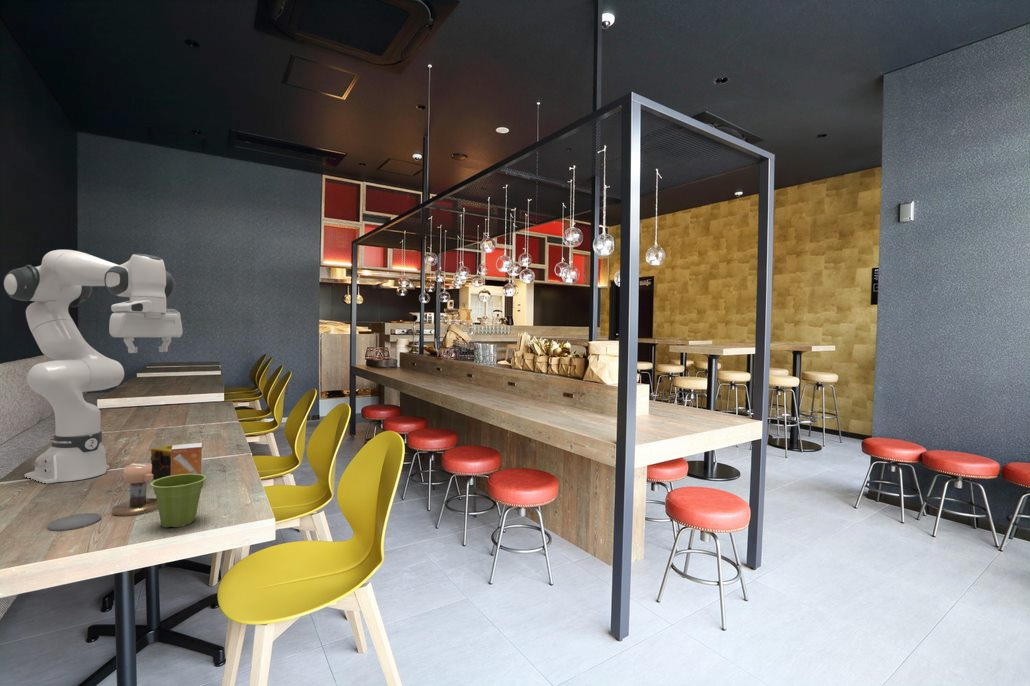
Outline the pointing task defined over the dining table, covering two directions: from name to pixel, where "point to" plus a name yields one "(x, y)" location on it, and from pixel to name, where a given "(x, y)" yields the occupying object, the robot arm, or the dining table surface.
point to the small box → (186, 459)
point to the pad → (74, 521)
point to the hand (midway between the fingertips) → (148, 352)
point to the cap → (137, 473)
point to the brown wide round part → (136, 502)
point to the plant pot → (178, 498)
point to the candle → (161, 461)
